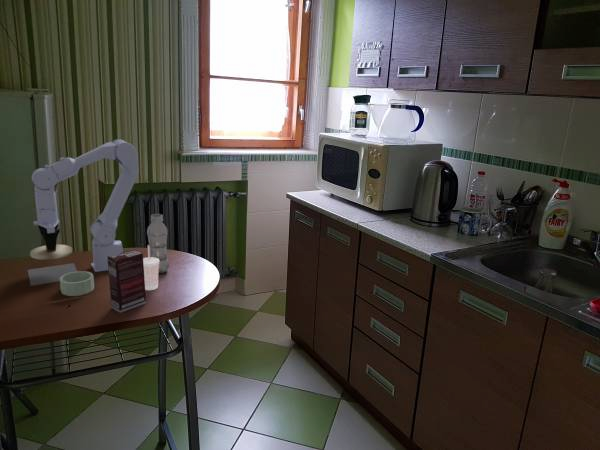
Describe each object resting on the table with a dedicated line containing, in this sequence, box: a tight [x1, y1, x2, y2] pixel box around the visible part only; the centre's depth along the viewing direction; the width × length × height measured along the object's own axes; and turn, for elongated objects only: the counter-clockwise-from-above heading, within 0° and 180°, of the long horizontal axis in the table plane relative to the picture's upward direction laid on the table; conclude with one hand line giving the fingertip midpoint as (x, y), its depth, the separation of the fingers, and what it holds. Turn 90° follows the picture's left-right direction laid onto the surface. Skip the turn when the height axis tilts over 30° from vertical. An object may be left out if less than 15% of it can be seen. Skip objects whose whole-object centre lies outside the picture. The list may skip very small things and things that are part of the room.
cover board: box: [29, 244, 73, 261], centre depth 150 cm, size 12×12×4 cm
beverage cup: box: [143, 244, 160, 291], centre depth 146 cm, size 6×6×14 cm
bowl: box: [59, 270, 95, 298], centre depth 143 cm, size 9×9×4 cm
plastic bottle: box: [146, 213, 170, 274], centre depth 157 cm, size 6×7×20 cm
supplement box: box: [107, 249, 147, 314], centre depth 133 cm, size 9×5×16 cm, turn 141°
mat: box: [27, 262, 78, 287], centre depth 153 cm, size 14×14×1 cm
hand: (51, 248), depth 151 cm, fingers closed on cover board, 3 cm apart
